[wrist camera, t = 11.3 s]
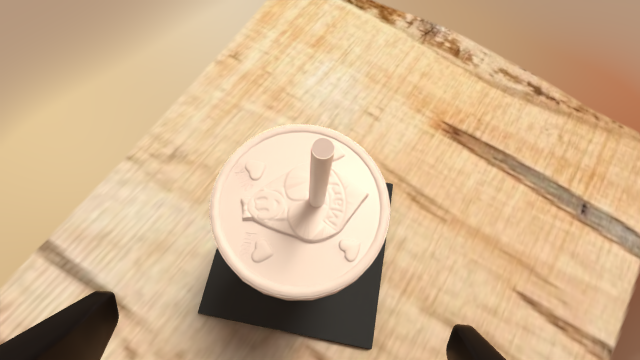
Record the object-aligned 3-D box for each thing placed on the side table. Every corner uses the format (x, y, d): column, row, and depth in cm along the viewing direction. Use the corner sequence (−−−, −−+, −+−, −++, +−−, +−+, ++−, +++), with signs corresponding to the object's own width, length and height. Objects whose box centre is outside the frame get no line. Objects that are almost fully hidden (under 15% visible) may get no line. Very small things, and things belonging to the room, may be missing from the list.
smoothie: (363, 294, 20) (471, 274, 7) (252, 310, 20) (151, 321, 7) (345, 190, 22) (404, 28, 9) (245, 202, 22) (156, 49, 9)
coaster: (370, 348, 20) (371, 349, 19) (199, 312, 20) (197, 313, 20) (391, 185, 23) (393, 183, 23) (245, 156, 23) (244, 154, 23)
